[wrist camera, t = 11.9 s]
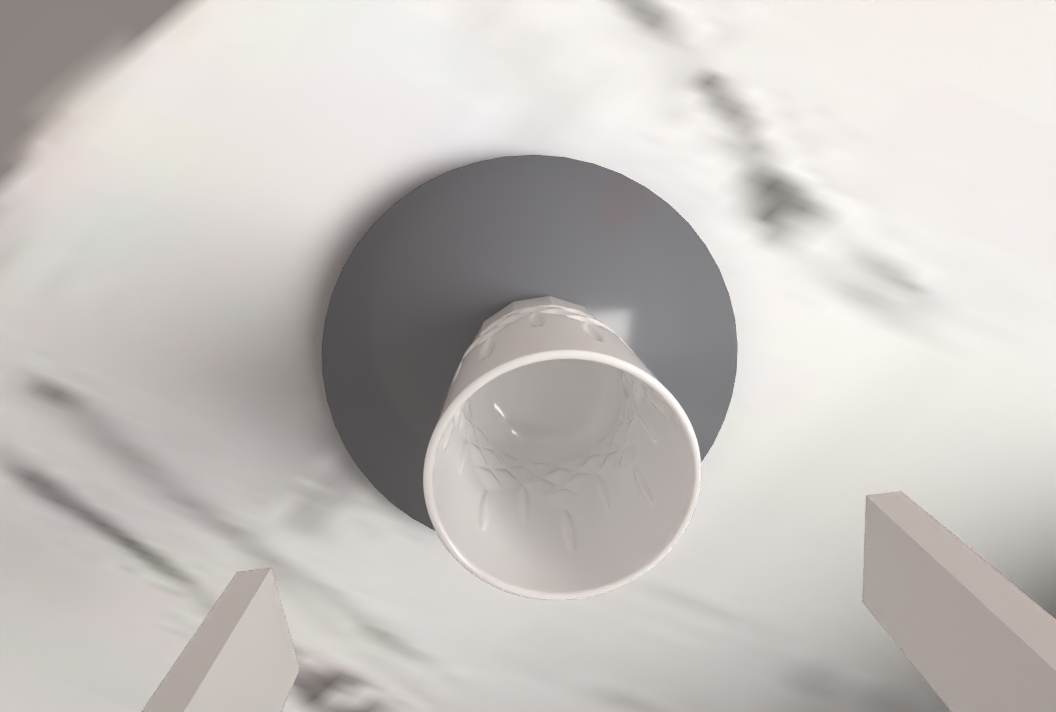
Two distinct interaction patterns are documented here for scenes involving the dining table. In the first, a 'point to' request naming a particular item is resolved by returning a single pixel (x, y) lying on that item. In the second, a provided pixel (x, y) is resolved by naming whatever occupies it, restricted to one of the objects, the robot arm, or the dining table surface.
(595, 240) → the slate plate
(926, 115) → the dining table surface
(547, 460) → the white cup
